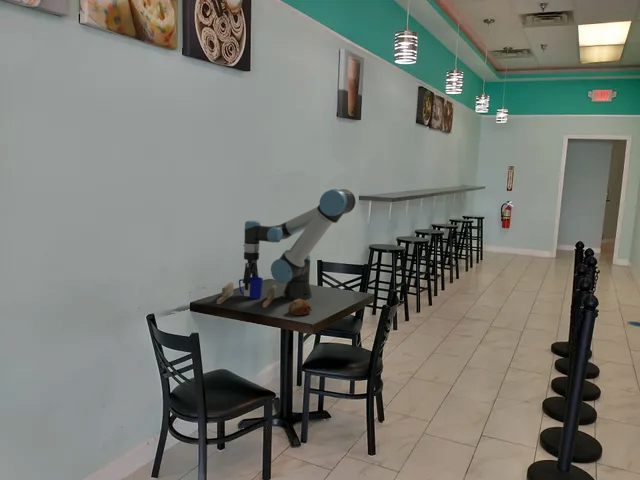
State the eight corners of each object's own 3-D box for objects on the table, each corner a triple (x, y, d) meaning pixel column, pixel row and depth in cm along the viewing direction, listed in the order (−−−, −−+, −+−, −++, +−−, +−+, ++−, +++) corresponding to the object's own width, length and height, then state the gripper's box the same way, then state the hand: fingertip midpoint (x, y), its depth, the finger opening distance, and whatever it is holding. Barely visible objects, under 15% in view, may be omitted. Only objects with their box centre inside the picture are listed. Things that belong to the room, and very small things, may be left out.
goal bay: (269, 304, 251) (269, 300, 251) (265, 307, 244) (266, 303, 244) (221, 300, 254) (221, 296, 254) (216, 304, 247) (216, 299, 247)
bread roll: (297, 317, 241) (290, 301, 242) (316, 308, 238) (308, 292, 239) (290, 322, 232) (282, 306, 232) (309, 313, 229) (301, 297, 229)
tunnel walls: (275, 297, 266) (276, 285, 265) (269, 303, 252) (270, 291, 251) (230, 293, 269) (230, 282, 268) (222, 300, 255) (222, 288, 254)
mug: (240, 295, 267) (240, 276, 266) (263, 296, 266) (263, 277, 265) (237, 299, 259) (237, 279, 257) (261, 300, 258) (261, 280, 257)
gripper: (250, 247, 272) (249, 287, 275) (237, 254, 248) (236, 298, 250) (264, 248, 271) (263, 288, 274) (252, 255, 247) (251, 299, 250)
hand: (250, 293), depth 262 cm, fingers open, 13 cm apart
